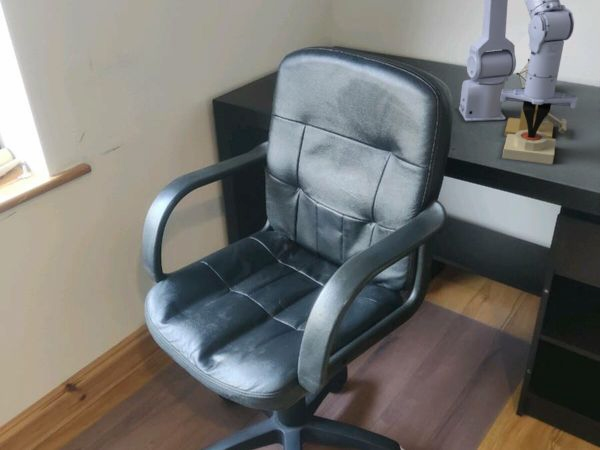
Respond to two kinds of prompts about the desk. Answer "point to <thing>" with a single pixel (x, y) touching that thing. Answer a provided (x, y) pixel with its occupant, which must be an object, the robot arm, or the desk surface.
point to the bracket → (521, 124)
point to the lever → (557, 122)
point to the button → (537, 137)
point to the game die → (523, 75)
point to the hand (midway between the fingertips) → (531, 135)
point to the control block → (529, 148)
